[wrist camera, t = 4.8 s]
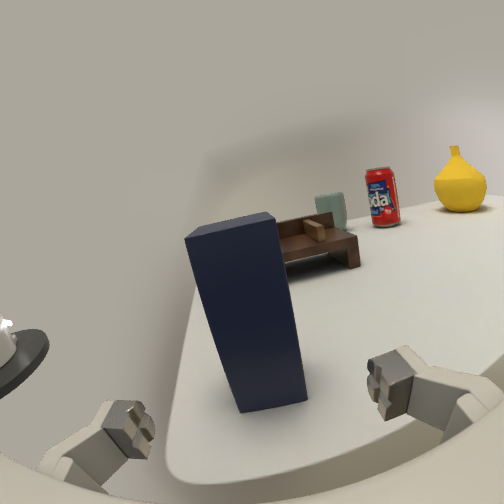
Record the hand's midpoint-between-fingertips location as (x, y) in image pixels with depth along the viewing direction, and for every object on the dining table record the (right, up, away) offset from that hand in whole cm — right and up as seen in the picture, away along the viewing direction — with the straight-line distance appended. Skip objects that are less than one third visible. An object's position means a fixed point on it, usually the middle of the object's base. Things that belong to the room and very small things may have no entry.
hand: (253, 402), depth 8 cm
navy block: (+1, -6, +11) cm, 13 cm away
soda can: (+35, +12, +56) cm, 67 cm away
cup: (+22, +10, +62) cm, 67 cm away
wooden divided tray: (+6, +2, +39) cm, 39 cm away
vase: (+63, +18, +54) cm, 85 cm away
